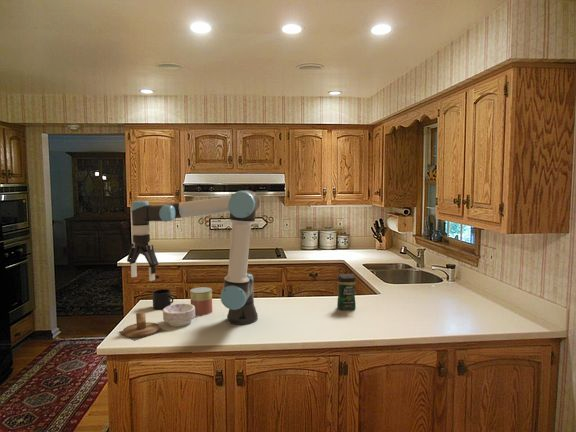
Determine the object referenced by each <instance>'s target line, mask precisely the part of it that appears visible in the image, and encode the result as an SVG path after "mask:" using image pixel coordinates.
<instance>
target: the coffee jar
mask: <svg viewBox="0 0 576 432" xmlns="http://www.w3.org/2000/svg"><path fill="white" fill-rule="evenodd" d="M356 283H357V281H356V276H355V274H353V273H343V274H342V273H341V274H338V276H337V284H338V293H337V294H338V295H337V304H336V307H337V308H338V310H342V311H349V310H350V311H351V310H352V311H353V310H355V309H356V308H357V307H356V294H355V285H356Z"/></svg>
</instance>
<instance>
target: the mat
mask: <svg viewBox="0 0 576 432" xmlns="http://www.w3.org/2000/svg"><path fill="white" fill-rule="evenodd" d="M166 331H167V330H166V329H165V328H162V327H160V330H159V332H157V333H156V334H153V335H152V336H154V335H157V334H160V333H164V332H166ZM118 332H119V333H120V334H121V336H123V337H125V336H124V335H123V330H120V331H118ZM120 334H119V335H120ZM147 337H149V336H147ZM147 337H141V338H129V337H126V338H127V339H130V340H131V341H134V342H135V341H139V340H142V339H145V338H147Z"/></svg>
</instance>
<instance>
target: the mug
mask: <svg viewBox="0 0 576 432" xmlns="http://www.w3.org/2000/svg"><path fill="white" fill-rule="evenodd" d="M151 294H152V295H151V296H152V309H154V310H156V311H163V309H164V308H165V307H167V306H170V305H172V304H174V297H173V296H172V295H171V290H170V289H166V288H164V289H157V290H154V291H152V293H151Z"/></svg>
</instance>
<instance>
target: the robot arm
mask: <svg viewBox="0 0 576 432" xmlns="http://www.w3.org/2000/svg"><path fill="white" fill-rule="evenodd" d="M259 207H260V198H259V196H258V194H257V193H256V192H254V191H253V190H249V189H246V190H238V191H236V192H234V193H231V194H230V195H229V196H222V197H215V198H207V199H198V200H190V201H181V202H173V203H172V202H171V203H167V204H160V205H159V204H155V205H153V204H150V203H149V201H148V200H134V201H132V202H131V210H130V212H131V221H132V222H131V224H132V225H131V226H132V227H131V229H132V230H131V231H132V234H133V235H132V242H131V243H130V247H129V248H130V249H129V251H128V255H127V260H126V261H127V262H128V263H129V264H130V277H131V278H137V277H138V271H137V270H138V267H137V265H138V264H137V260H138V258H139V255H142V256H144V257H145V259H146V261H147V264H148V265H149V266H148V279H149V280H148V281H149V282H152V281H156V266H159V261H158V258H157V255H156V252H155V250H154V249H155V248H154V244H151V245H149V243H150V242H151V235H150V222H167V223H168V222H172V221H174V219H175V220H176V219H181V218H189V217H191V218H192V217H198V216H199V217H200V216H206V215H216V214H217V215H218V214H224V213H229V219H228V220H229V221H230V222H231V235H230V247H229V256H228V257H229V259H228V271H227V275H226V276H224V279H223V287H222V289H221V293H220V302H221V304H222V305H223V306H224V307H225V308H227V309H228V313H227V315H226V321H227V322H228V323H230V324H233V325H248V324H252V323H255V322H256V321H258V312H257V310H256V306H255V301H254V299H255V298H254V275H253V274H252V273H248V263H249V251H250V243H251V242H250V241H251V233H252V232H251V231H252V230H251V229H252V225H253V224H254V223H255V222H256V214H257V213H256V212H257V211H258V209H259Z"/></svg>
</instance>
